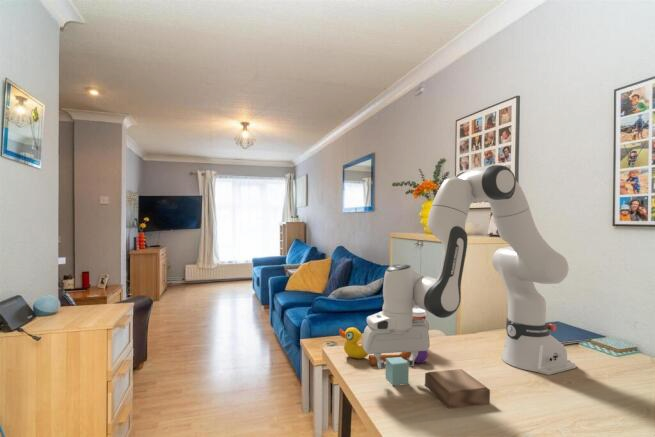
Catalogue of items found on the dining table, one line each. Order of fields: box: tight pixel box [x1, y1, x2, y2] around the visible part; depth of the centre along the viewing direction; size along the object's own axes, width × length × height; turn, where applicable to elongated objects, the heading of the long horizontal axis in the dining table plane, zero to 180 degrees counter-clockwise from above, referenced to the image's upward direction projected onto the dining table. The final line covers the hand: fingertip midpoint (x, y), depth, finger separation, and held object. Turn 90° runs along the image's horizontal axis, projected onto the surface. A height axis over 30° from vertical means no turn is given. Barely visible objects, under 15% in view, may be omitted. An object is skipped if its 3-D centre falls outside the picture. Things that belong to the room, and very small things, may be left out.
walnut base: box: [424, 368, 491, 409], centre depth 92 cm, size 12×12×4 cm
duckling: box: [338, 326, 369, 359], centre depth 116 cm, size 11×5×10 cm, turn 64°
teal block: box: [385, 357, 410, 386], centre depth 99 cm, size 5×5×6 cm
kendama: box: [368, 350, 429, 366], centre depth 112 cm, size 6×6×20 cm
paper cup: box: [413, 307, 427, 320], centre depth 126 cm, size 8×8×14 cm
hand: (395, 366), depth 99 cm, fingers open, 8 cm apart
